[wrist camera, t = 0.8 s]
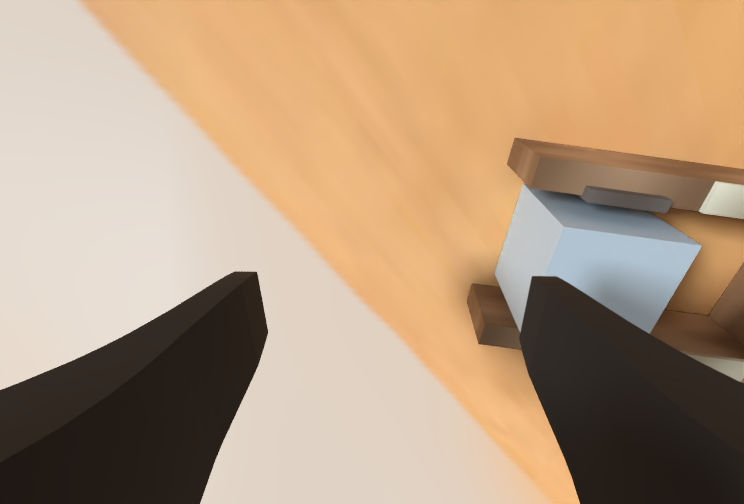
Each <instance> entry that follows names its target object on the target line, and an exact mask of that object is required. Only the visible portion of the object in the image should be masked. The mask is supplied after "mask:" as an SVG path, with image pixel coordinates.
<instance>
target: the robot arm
mask: <svg viewBox="0 0 744 504" xmlns="http://www.w3.org/2000/svg"><path fill="white" fill-rule="evenodd" d="M267 334H268V329H267V324H266V318H265V313H264V307H263V302H262V297H261V291H260V286H259V280H258V275H257V272H233V273H231V274H229V275H227V276H225V277H224V278H222V279H220V280H218V281H217V282H215V283H213V284H212V285H210V286H209V287H207V288H205V289H204V290H202V291H201V292H199V293H197V294H195V295H194V296H192V297H191V298H189V299H187V300H186V301H184V302H182V303H181V304H179V305H178V306H176V307H174V308H173V309H171V310H169V311H168V312H166V313H164V314H162V315H161V316H159V317H157V318H155V319H154V320H152V321H150V322H148V323H147V324H145V325H143V326H141V327H139V328H138V329H136V330H134V331H132V332H131V333H129V334H127V335H125V336H123V337H121V338H119V339H117V340H115V341H113V342H111V343H109V344H107V345H105V346H103V347H101V348H99V349H97V350H95V351H93V352H90V353H88V354H86V355H84V356H82V357H80V358H78V359H75V360H73V361H71V362H69V363H66V364H64V365H61V366H59V367H57V368H54V369H52V370H49V371H47V372H44V373H42V374H40V375H37V376H35V377H32V378H30V379H27V380H25V381H23V382H20V383H18V384H15V385H13V386H10V387H8V388H5V389H2V390H0V504H200V502H201V499H202V496H203V493H204V490H205V488H206V485H207V482H208V479H209V476H210V473H211V471H212V468H213V465H214V462H215V459H216V457H217V455H218V452H219V450H220V447H221V445H222V443H223V440H224V438H225V436H226V434H227V432H228V430H229V427H230V425H231V423H232V421H233V419H234V417H235V415H236V412H237V410H238V408H239V406H240V404H241V401H242V399H243V397H244V395H245V393H246V391H247V389H248V387H249V384H250V382H251V380H252V378H253V376H254V373H255V371H256V369H257V367H258V364H259V361H260V358H261V355H262V351H263V348H264V345H265V341H266V338H267ZM519 340H520V344H521V348H522V352H523V356H524V360H525V363H526V366H527V370H528V373H529V376H530V378H531V381H532V383H533V386H534V388H535V390H536V393H537V395H538V397H539V400H540V402H541V404H542V407H543V409H544V411H545V414H546V416H547V418H548V421H549V423H550V425H551V428H552V430H553V432H554V435H555V437H556V439H557V442H558V444H559V446H560V449H561V451H562V453H563V455H564V458H565V461H566V463H567V466H568V468H569V471H570V474H571V476H572V479H573V482H574V485H575V489H576V492H577V495H578V498H579V501H580V504H744V383H741V382H739V381H737V380H735V379H733V378H731V377H729V376H727V375H725V374H723V373H721V372H719V371H717V370H715V369H713V368H711V367H709V366H707V365H705V364H703V363H701V362H699V361H697V360H695V359H693V358H692V357H690V356H688V355H686V354H684V353H682V352H680V351H679V350H677V349H675V348H673V347H672V346H670V345H668V344H666V343H665V342H663V341H661V340H659V339H658V338H656V337H654V336H652V335H651V334H649V333H647V332H646V331H644V330H642V329H641V328H639V327H637V326H636V325H634V324H632V323H631V322H629V321H627V320H626V319H624V318H623V317H621V316H620V315H618V314H616V313H615V312H613V311H612V310H610V309H609V308H607V307H605V306H604V305H602V304H601V303H599V302H598V301H596V300H595V299H593V298H591V297H590V296H588V295H587V294H585V293H584V292H582V291H581V290H579V289H577V288H576V287H574V286H573V285H571V284H569V283H568V282H566V281H564V280H562V279H561V278H559V277H557V276H532V278H531V283H530V288H529V293H528V298H527V303H526V307H525V312H524V317H523V322H522V327H521V332H520V337H519Z"/></svg>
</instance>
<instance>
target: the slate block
mask: <svg viewBox="0 0 744 504" xmlns="http://www.w3.org/2000/svg"><path fill="white" fill-rule="evenodd" d="M701 247H702V245H700V244H699V243H697V242H696V241H694V240H692V239H691V238H689V237H688V236H686V235H685V234H683V233H682V232H680V231H678V230H677V229H675V228H674V227H672V226H671V225H669V224H667V223H666V222H664V221H663V220H661V219H660V218H658V217H657V216H655V215H653V214H652V213H650V212H649V211H646V210H638V209H631V208H624V207H617V206H609V205H602V204H595V203H587V202H586V201H584V200H583V199H582V198H581V197H579V196H578V195H576V194H568V193H561V192H554V191H547V190H539V189H532V188H530V187H529V186H528V185H527V184H523V186H522V189H521V192H520V195H519V198H518V202H517V205H516V208H515V211H514V214H513V217H512V220H511V223H510V227H509V230H508V233H507V236H506V239H505V242H504V245H503V248H502V251H501V255H500V258H499V261H498V264H497V267H496V270H495V273H494V274H495V276H496V278H497V281H498V283H499V285H500V287H501V290H502V292H503V294H504V297H505V299H506V301H507V304H508V306H509V308H510V311H511V313H512V315H513V318H514V320H515V322H516V324H517V327H518V329H519V331H520V332H521V327H522V322H523V317H524V312H525V307H526V303H527V298H528V293H529V288H530V283H531V278H532V276H557V277H559V278H561V279H562V280H564V281H566V282H568V283H569V284H571V285H573V286H574V287H576V288H577V289H579V290H581V291H582V292H584V293H585V294H587V295H588V296H590V297H591V298H593V299H595V300H596V301H598V302H599V303H601V304H602V305H604V306H605V307H607V308H609V309H610V310H612V311H613V312H615V313H616V314H618V315H620V316H621V317H623V318H624V319H626V320H627V321H629V322H631V323H632V324H634V325H636V326H637V327H639V328H641V329H642V330H644V331H646V332H647V333H649V334H650V332H651V331H652V329H653V327H654V326H655V324H656V322H657V321H658V319H659V317H660V316H661V314H662V312H663V311H664V309H665V307H666V306H667V304H668V302H669V301H670V299H671V297H672V296H673V294H674V292H675V291H676V289H677V287H678V286H679V284H680V282H681V280H682V279H683V277H684V275H685V274H686V272H687V270H688V269H689V267H690V265H691V264H692V262H693V260H694V259H695V257H696V255H697V254H698V252H699V250H700V249H701Z"/></svg>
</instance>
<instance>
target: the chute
mask: <svg viewBox="0 0 744 504" xmlns="http://www.w3.org/2000/svg"><path fill="white" fill-rule="evenodd" d="M507 165H508V166H509V167H510V168H511V169H512V170H513V171H514V172H515V173H516V174H517V175H518V176H519V177H520V178H521V179H522V180H523V181H524V182H525V183H526V184H527V185H528V186H529V187H530V188H532V189H539V190H547V191H554V192H561V193H568V194H576V195H578V196H579V197H581V198H582V199H583V200H584V201H586V202H587V203H595V204H602V205H609V206H617V207H624V208H631V209H638V210H646V211H653V212H660V213H667V212H668V210H669V208H678V209H685V210H692V211H699V212H701V213H703V214H711V215H718V216H725V217H733V218H740V219H744V169H737V168H730V167H722V166H715V165H708V164H701V163H693V162H686V161H679V160H672V159H664V158H657V157H650V156H643V155H635V154H628V153H621V152H614V151H606V150H599V149H592V148H585V147H577V146H570V145H563V144H556V143H548V142H541V141H534V140H527V139H519V138H515V139H514V142H513V146H512V149H511V153H510V156H509V160H508V163H507ZM467 303H468V307H469V311H470V314H471V318H472V321H473V325H474V329H475V332H476V336H477V340H478V343H479V344H483V345H490V346H497V347H505V348H512V349H519V350H522V348H521V344H520V340H519V337H520V331H519V329H518V327H517V324H516V322H515V320H514V318H513V315H512V313H511V311H510V308H509V306H508V304H507V301H506V299H505V297H504V294H503V292H502V290H501V287H494V286H487V285H480V284H472V286H471V289H470V293H469V296H468V300H467ZM650 334H651V335H652V336H654V337H656V338H658V339H659V340H661V341H663V342H665V343H666V344H668V345H670V346H672V347H673V348H675V349H677V350H679V351H680V352H682V353H684V354H686V355H688V356H690V357H692V358H693V359H695V360H697V361H699V362H701V363H703V364H705V365H707V366H709V367H711V368H713V369H715V370H717V371H719V372H721V373H723V374H725V375H727V376H729V377H731V378H733V379H735V380H737V381H739V382H741V381H742V380H744V264H743V265H742V267H741V268H740V270H739V271H738V272H737V274H736V275H735V277H734V278H733V280H732V281H731V283H730V284H729V286H728V287H727V289H726V290H725V292H724V293H723V295H722V296H721V298H720V299H719V301H718V302H717V304H716V305H715V307H714V308H713V310H712V311H711V313H710V314H709V316H707V315H699V314H692V313H685V312H677V311H670V310H664V311H663V312H662V314H661V316H660V317H659V319H658V321H657V322H656V324H655V326H654V327H653V329H652V331H651V332H650Z"/></svg>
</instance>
